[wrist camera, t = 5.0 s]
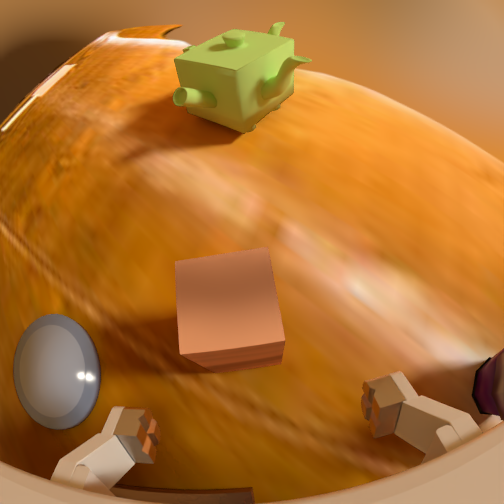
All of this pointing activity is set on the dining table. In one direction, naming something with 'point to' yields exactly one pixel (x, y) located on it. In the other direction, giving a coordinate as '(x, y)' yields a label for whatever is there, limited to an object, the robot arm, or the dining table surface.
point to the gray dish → (57, 372)
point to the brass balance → (185, 495)
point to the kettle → (237, 77)
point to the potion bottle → (490, 386)
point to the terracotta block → (229, 311)
